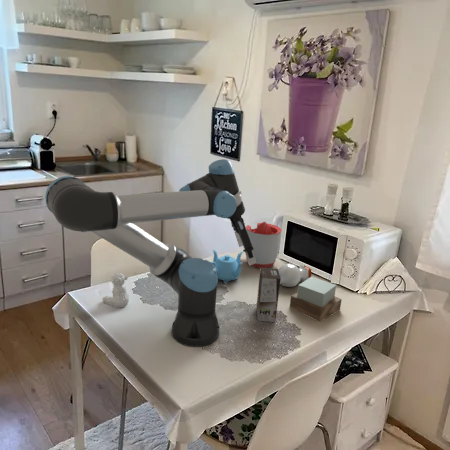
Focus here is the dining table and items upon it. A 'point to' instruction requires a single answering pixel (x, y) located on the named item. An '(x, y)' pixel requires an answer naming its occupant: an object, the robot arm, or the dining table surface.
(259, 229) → the citrus juicer
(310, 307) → the tower base
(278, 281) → the coffee box
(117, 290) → the sitting furry creature
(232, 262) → the teapot
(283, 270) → the potion bottle
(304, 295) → the tower top
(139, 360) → the dining table surface
